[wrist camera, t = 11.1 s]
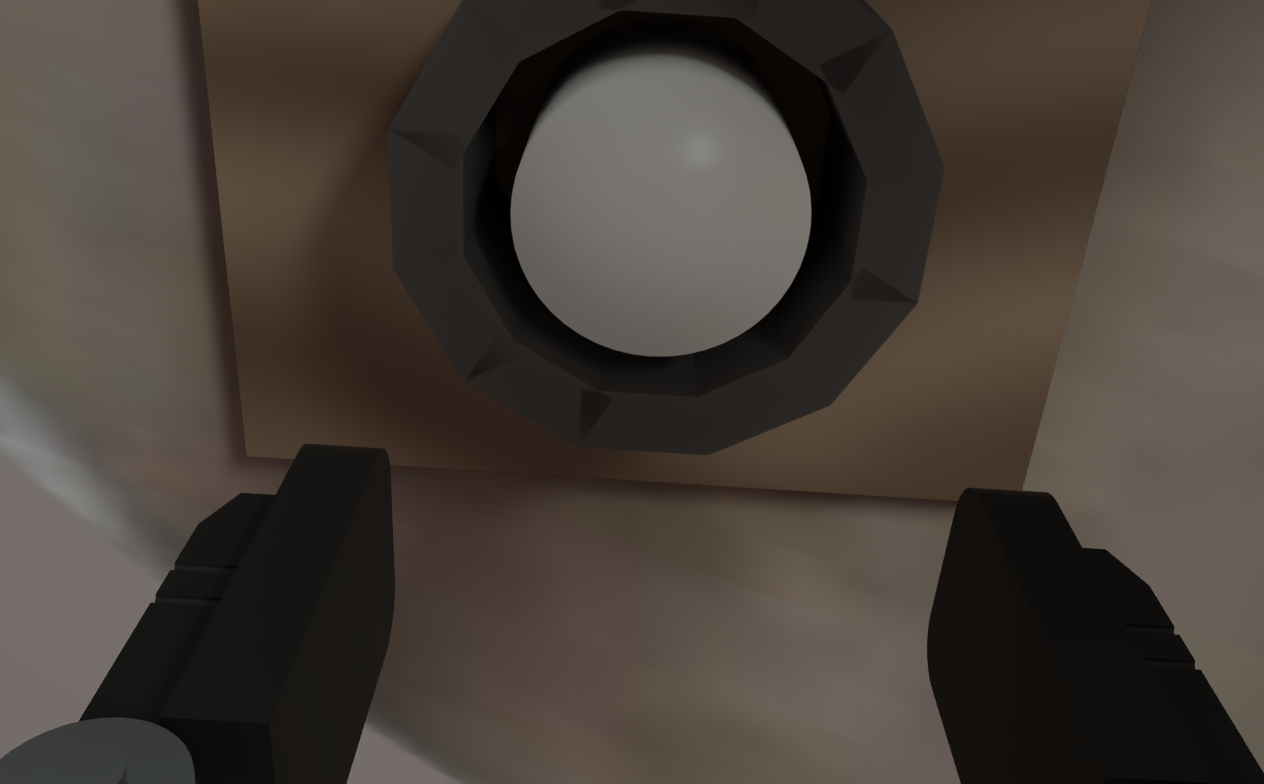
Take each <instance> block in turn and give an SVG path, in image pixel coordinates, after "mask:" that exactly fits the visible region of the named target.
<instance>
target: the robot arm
mask: <svg viewBox="0 0 1264 784" xmlns="http://www.w3.org/2000/svg"><path fill="white" fill-rule="evenodd" d="M394 597H395V575H394V549H393V523H392V497H391V473H390V462H389V457H388V453H387V451H386V449H384V448H370V447H354V446H339V445H323V444H308V443H306V444H304V445H303V446H302V447H301V448H300V450H299V451H298V453H297V455H296V457H295V459H294V461H293V463H292V465H291V467H290V469H289V470H288V472H287V474H286V476H285V478H284V480H283V482H282V484H281V486H280V488H279V490H278V491H277V493H276V495H265V494H250V493H240V494H239V495H238V496H236V497H235V498H234V499H232V500H231V501H229V502H228V503H227V504H225V505H224V506H223V507H221V508H220V509H218V510H217V511H216V512H214V513H213V514H212V515H210V516H209V517H207V518H206V519H205V520H203V521H202V522H201V523H199V524H198V525H197V527H196V529H195V530H194V532H193V534H192V535H191V537H190V539H189V540H188V542H187V544H186V545H185V547H184V549H183V550H182V552H181V553H180V555H179V557H178V558H177V560H176V562H175V569H174V570H170V572H169V573H168V575H167V577H166V578H165V580H164V582H163V583H162V585H161V586H160V588H159V590H158V591H157V593H156V600H155V603H150V605H149V606H148V608H147V610H146V611H145V613H144V615H143V616H142V618H141V619H140V621H139V623H138V625H137V626H136V628H135V629H134V631H133V633H132V634H131V636H130V638H129V639H128V641H127V643H126V644H125V646H124V647H123V649H122V651H121V652H120V654H119V656H118V657H117V659H116V661H115V662H114V664H113V666H112V667H111V669H110V671H109V672H108V674H107V675H106V677H105V679H104V680H103V682H102V684H101V685H100V687H99V689H98V690H97V692H96V694H95V695H94V697H93V698H92V700H91V702H90V703H89V705H88V707H87V708H86V710H85V712H84V713H83V715H82V717H81V718H80V720H79V722H76V723H71V724H68V725H64V726H61V727H58V728H55V729H53V730H50V731H47V732H45V733H43V734H41V735H39V736H36V737H34V738H32V739H30V740H28V741H26V742H25V743H23V744H22V745H20V746H18V747H17V748H15V749H13V750H12V751H10V752H9V753H8V754H6V755H5V756H4V757H3V758H1V759H0V784H346V783H347V779H348V776H349V773H350V770H351V766H352V763H353V760H354V757H355V753H356V750H357V747H358V744H359V740H360V737H361V734H362V730H363V727H364V724H365V721H366V717H367V714H368V711H369V707H370V704H371V701H372V698H373V694H374V691H375V688H376V684H377V681H378V678H379V675H380V671H381V668H382V665H383V661H384V658H385V655H386V651H387V648H388V643H389V639H390V633H391V627H392V620H393V611H394ZM927 659H928V671H929V677H930V683H931V686H932V690H933V693H934V697H935V700H936V703H937V706H938V710H939V713H940V716H941V720H942V723H943V726H944V729H945V733H946V736H947V739H948V743H949V746H950V749H951V753H952V756H953V759H954V762H955V766H956V769H957V772H958V776H959V779H960V782H961V784H1264V773H1263V771H1262V770H1261V768H1260V766H1259V765H1258V763H1257V761H1256V760H1255V758H1254V756H1253V755H1252V753H1251V752H1250V750H1249V748H1248V747H1247V745H1246V743H1245V742H1244V740H1243V738H1242V737H1241V735H1240V733H1239V732H1238V730H1237V729H1236V727H1235V725H1234V724H1233V722H1232V720H1231V719H1230V717H1229V715H1228V714H1227V712H1226V711H1225V709H1224V707H1223V706H1222V704H1221V702H1220V701H1219V699H1218V697H1217V696H1216V694H1215V693H1214V691H1213V689H1212V688H1211V686H1210V684H1209V683H1208V681H1207V679H1206V678H1205V676H1204V674H1203V673H1202V671H1201V670H1197V669H1195V660H1194V658H1193V656H1192V655H1191V653H1190V652H1189V650H1188V648H1187V647H1186V645H1185V643H1184V642H1183V640H1182V638H1181V637H1180V635H1175V634H1174V625H1173V624H1172V622H1171V620H1170V619H1169V617H1168V615H1167V614H1166V612H1165V611H1164V609H1163V607H1162V606H1161V604H1160V602H1159V601H1158V599H1157V597H1156V596H1155V594H1154V593H1153V591H1152V589H1151V588H1150V586H1149V585H1148V584H1147V583H1145V582H1144V581H1143V580H1142V579H1141V578H1139V577H1138V576H1137V575H1136V574H1135V573H1133V572H1132V571H1131V570H1130V569H1129V568H1127V567H1126V566H1125V565H1124V564H1123V563H1121V562H1120V561H1119V560H1118V559H1117V558H1115V557H1114V556H1113V555H1112V554H1110V553H1109V552H1108V551H1107V550H1106V549H1091V548H1082V547H1081V545H1080V543H1079V541H1078V539H1077V538H1076V536H1075V534H1074V532H1073V530H1072V529H1071V527H1070V525H1069V523H1068V521H1067V520H1066V518H1065V516H1064V514H1063V512H1062V510H1061V509H1060V507H1059V505H1058V503H1057V501H1056V500H1055V499H1054V497H1053V496H1052V495H1051V494H1049V493H1047V492H1033V491H1017V490H1002V489H986V488H967V489H965V490H964V491H963V493H962V494H961V496H960V498H959V500H958V503H957V506H956V510H955V513H954V518H953V522H952V526H951V530H950V535H949V539H948V543H947V547H946V552H945V556H944V560H943V564H942V569H941V573H940V577H939V581H938V586H937V590H936V594H935V598H934V602H933V607H932V611H931V615H930V620H929V627H928V638H927Z"/></svg>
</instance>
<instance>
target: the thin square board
mask: <svg viewBox="0 0 1264 784" xmlns="http://www.w3.org/2000/svg"><path fill="white" fill-rule="evenodd" d="M1150 3H1151V0H198V8H199V18H200V27H201V36H202V46H203V55H204V64H205V74H206V83H207V92H208V102H209V111H210V120H211V130H212V139H213V148H214V157H215V167H216V176H217V185H218V195H219V204H220V213H221V223H222V232H223V241H224V251H225V260H226V269H227V279H228V288H229V297H230V307H231V316H232V325H233V334H234V344H235V353H236V362H237V372H238V381H239V390H240V400H241V409H242V418H243V428H244V437H245V446H246V456H251V457H267V458H283V459H295V457H296V455H297V453H298V451H299V450H300V448H301V447H302V446H303V445H304V444H306V443H308V444H323V445H339V446H354V447H370V448H384V449H386V451H387V453H388V457H389V462H390V465H394V466H410V467H425V468H441V469H457V470H473V471H489V472H505V473H520V474H536V475H552V476H568V477H584V478H600V479H615V480H631V481H647V482H663V483H679V484H695V485H710V486H726V487H742V488H758V489H774V490H790V491H805V492H821V493H837V494H853V495H869V496H885V497H900V498H916V499H932V500H948V501H958V500H959V498H960V496H961V494H962V493H963V491H964V490H965V489H967V488H986V489H1002V490H1017V491H1022V488H1023V484H1024V481H1025V477H1026V473H1027V469H1028V465H1029V462H1030V458H1031V454H1032V450H1033V447H1034V443H1035V439H1036V435H1037V431H1038V428H1039V424H1040V420H1041V416H1042V412H1043V409H1044V405H1045V401H1046V397H1047V393H1048V390H1049V386H1050V382H1051V378H1052V374H1053V371H1054V367H1055V363H1056V359H1057V356H1058V352H1059V348H1060V344H1061V340H1062V337H1063V333H1064V329H1065V325H1066V321H1067V318H1068V314H1069V310H1070V306H1071V302H1072V299H1073V295H1074V291H1075V287H1076V283H1077V280H1078V276H1079V272H1080V268H1081V265H1082V261H1083V257H1084V253H1085V249H1086V246H1087V242H1088V238H1089V234H1090V230H1091V227H1092V223H1093V219H1094V215H1095V211H1096V208H1097V204H1098V200H1099V196H1100V192H1101V189H1102V185H1103V181H1104V177H1105V173H1106V170H1107V166H1108V162H1109V158H1110V155H1111V151H1112V147H1113V143H1114V139H1115V136H1116V132H1117V128H1118V124H1119V120H1120V117H1121V113H1122V109H1123V105H1124V101H1125V98H1126V94H1127V90H1128V86H1129V82H1130V79H1131V75H1132V71H1133V67H1134V64H1135V60H1136V56H1137V52H1138V48H1139V45H1140V41H1141V37H1142V33H1143V29H1144V26H1145V22H1146V18H1147V14H1148V10H1149V7H1150ZM649 17H671V18H679V19H686V20H689V21H693V22H697V23H700V24H703V25H706V26H708V27H710V28H713V29H715V30H717V31H719V32H721V33H722V34H724V35H726V36H727V37H729V38H731V39H732V40H734V41H735V42H736V43H737V44H738V45H740V46H741V47H742V48H743V49H745V50H746V51H747V52H748V53H749V54H750V56H751V57H752V58H753V59H754V60H755V61H756V62H757V63H758V65H759V66H760V67H761V69H762V70H763V72H764V73H765V75H766V76H767V78H768V80H769V82H770V84H771V86H772V87H773V89H774V92H775V94H776V97H777V99H778V102H779V104H780V107H781V110H782V112H783V115H784V117H785V120H786V123H787V125H788V128H789V130H790V133H791V136H792V138H793V141H794V143H795V146H796V148H797V151H798V154H799V156H800V159H801V162H802V165H803V167H804V170H805V173H806V176H807V181H808V186H809V191H810V198H811V226H810V234H809V239H808V244H807V248H806V252H805V255H804V257H803V260H802V263H801V266H800V268H799V270H798V272H797V274H796V276H795V278H794V280H793V282H792V284H791V285H790V287H789V288H788V290H787V291H786V292H785V294H784V295H783V297H782V298H781V300H780V301H779V302H778V303H777V304H776V305H775V306H774V307H773V308H772V310H771V311H770V312H769V313H768V314H767V315H766V316H764V317H763V318H762V319H761V320H760V321H759V322H757V323H756V324H755V325H754V326H752V327H751V328H749V329H748V330H746V331H745V332H743V333H742V334H740V335H739V336H737V337H735V338H733V339H731V340H729V341H727V342H725V343H723V344H720V345H718V346H715V347H712V348H709V349H707V350H703V351H699V352H695V353H691V354H686V355H677V356H643V355H635V354H629V353H625V352H621V351H617V350H613V349H610V348H608V347H605V346H603V345H600V344H597V343H595V342H593V341H591V340H589V339H587V338H585V337H584V336H582V335H580V334H578V333H577V332H575V331H574V330H573V329H571V328H570V327H568V326H567V325H565V324H564V323H563V322H562V321H561V320H560V319H558V318H557V317H556V316H555V315H554V314H553V313H552V312H551V311H550V310H549V309H548V308H547V307H546V306H545V304H544V303H543V302H542V301H541V300H540V299H539V297H538V296H537V294H536V293H535V291H534V290H533V288H532V287H531V285H530V284H529V282H528V280H527V278H526V276H525V274H524V272H523V270H522V268H521V265H520V262H519V260H518V257H517V254H516V251H515V247H514V241H513V236H512V231H511V213H510V211H511V200H512V191H513V187H514V182H515V178H516V174H517V171H518V168H519V165H520V162H521V159H522V156H523V153H524V150H525V147H526V144H527V142H528V139H529V136H530V133H531V130H532V127H533V124H534V121H535V118H536V115H537V112H538V109H539V106H540V104H541V101H542V98H543V96H544V93H545V90H546V88H547V86H548V85H549V83H550V81H551V79H552V77H553V75H554V74H555V73H556V71H557V70H558V69H559V67H560V66H561V64H562V63H563V62H564V61H565V60H566V59H567V58H568V57H569V55H570V54H571V53H572V52H573V51H574V50H575V49H577V48H578V47H579V46H580V45H582V44H583V43H584V42H585V41H587V40H588V39H590V38H591V37H593V36H595V35H596V34H598V33H600V32H601V31H603V30H605V29H608V28H610V27H612V26H615V25H617V24H620V23H624V22H627V21H631V20H635V19H642V18H649Z"/></svg>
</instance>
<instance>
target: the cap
mask: <svg viewBox="0 0 1264 784" xmlns="http://www.w3.org/2000/svg"><path fill="white" fill-rule="evenodd" d="M510 213H511V231H512V236H513V241H514V247H515V251H516V254H517V257H518V260H519V262H520V265H521V268H522V270H523V272H524V274H525V276H526V278H527V280H528V282H529V284H530V285H531V287H532V288H533V290H534V291H535V293H536V294H537V296H538V297H539V299H540V300H541V301H542V302H543V303H544V304H545V306H546V307H547V308H548V309H549V310H550V311H551V312H552V313H553V314H554V315H555V316H556V317H557V318H558V319H560V320H561V321H562V322H563V323H564V324H565V325H567V326H568V327H570V328H571V329H573V330H574V331H575V332H577V333H578V334H580V335H582V336H584V337H585V338H587V339H589V340H591V341H593V342H595V343H597V344H600V345H603V346H605V347H608V348H610V349H613V350H617V351H621V352H625V353H629V354H635V355H643V356H677V355H686V354H691V353H695V352H699V351H703V350H707V349H709V348H712V347H715V346H718V345H720V344H723V343H725V342H727V341H729V340H731V339H733V338H735V337H737V336H739V335H740V334H742V333H743V332H745V331H746V330H748V329H749V328H751V327H752V326H754V325H755V324H756V323H757V322H759V321H760V320H761V319H762V318H763V317H764V316H766V315H767V314H768V313H769V312H770V311H771V310H772V308H773V307H774V306H775V305H776V304H777V303H778V302H779V301H780V300H781V298H782V297H783V295H784V294H785V292H786V291H787V290H788V288H789V287H790V285H791V284H792V282H793V280H794V278H795V276H796V274H797V272H798V270H799V268H800V266H801V263H802V260H803V257H804V255H805V252H806V248H807V244H808V239H809V234H810V226H811V198H810V191H809V186H808V181H807V176H806V173H805V170H804V167H803V165H802V162H801V159H800V156H799V154H798V151H797V148H796V146H795V143H794V141H793V138H792V136H791V133H790V130H789V128H788V125H787V123H786V120H785V117H784V115H783V112H782V110H781V107H780V104H779V102H778V99H777V97H776V94H775V92H774V89H773V87H772V86H771V84H770V82H769V80H768V78H767V76H766V75H765V73H764V72H763V70H762V69H761V67H760V66H759V65H758V63H757V62H756V61H755V60H754V59H753V58H752V57H751V56H750V54H749V53H748V52H747V51H746V50H745V49H743V48H742V47H741V46H740V45H738V44H737V43H736V42H735V41H734V40H732V39H731V38H729V37H727V36H726V35H724V34H722V33H721V32H719V31H717V30H715V29H713V28H710V27H708V26H706V25H703V24H700V23H697V22H693V21H689V20H686V19H679V18H671V17H649V18H642V19H635V20H631V21H627V22H624V23H620V24H617V25H615V26H612V27H610V28H608V29H605V30H603V31H601V32H600V33H598V34H596V35H595V36H593V37H591V38H590V39H588V40H587V41H585V42H584V43H583V44H582V45H580V46H579V47H578V48H577V49H575V50H574V51H573V52H572V53H571V54H570V55H569V57H568V58H567V59H566V60H565V61H564V62H563V63H562V64H561V66H560V67H559V69H558V70H557V71H556V73H555V74H554V75H553V77H552V79H551V81H550V83H549V85H548V86H547V88H546V90H545V93H544V96H543V98H542V101H541V104H540V106H539V109H538V112H537V115H536V118H535V121H534V124H533V127H532V130H531V133H530V136H529V139H528V142H527V144H526V147H525V150H524V153H523V156H522V159H521V162H520V165H519V168H518V171H517V174H516V178H515V182H514V187H513V191H512V200H511V211H510Z"/></svg>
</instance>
